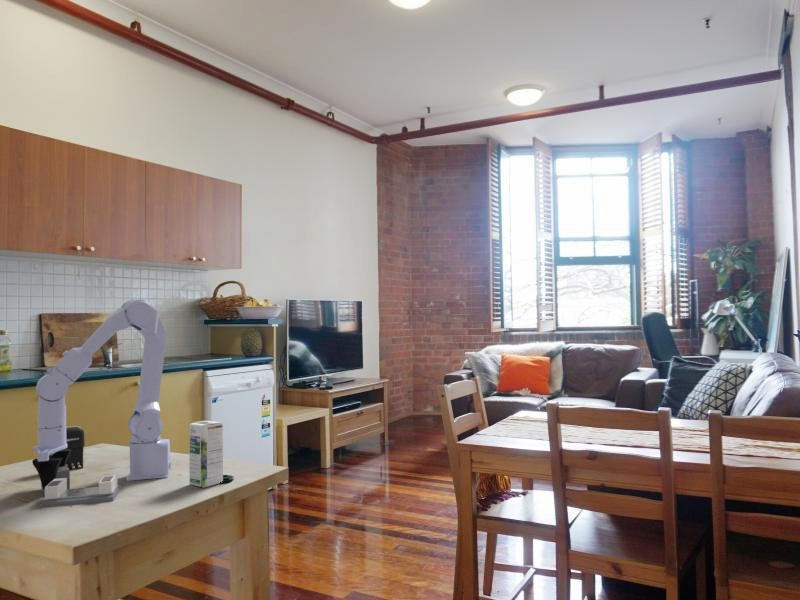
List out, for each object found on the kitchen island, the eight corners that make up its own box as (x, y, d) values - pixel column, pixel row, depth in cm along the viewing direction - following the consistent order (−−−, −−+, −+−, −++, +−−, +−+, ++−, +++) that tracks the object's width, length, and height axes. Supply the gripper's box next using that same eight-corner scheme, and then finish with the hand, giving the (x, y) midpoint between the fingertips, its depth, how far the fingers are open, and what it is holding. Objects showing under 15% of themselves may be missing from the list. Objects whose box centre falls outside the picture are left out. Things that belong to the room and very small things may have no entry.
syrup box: (188, 484, 142) (187, 423, 142) (209, 478, 147) (208, 419, 147) (203, 488, 139) (202, 425, 139) (224, 482, 143) (223, 421, 144)
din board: (120, 489, 139) (120, 483, 139) (113, 501, 130) (113, 494, 130) (53, 495, 135) (53, 489, 135) (40, 508, 127) (40, 501, 127)
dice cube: (44, 496, 135) (44, 473, 135) (41, 491, 139) (41, 469, 139) (69, 491, 138) (69, 469, 138) (65, 487, 142) (65, 465, 142)
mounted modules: (117, 484, 138) (117, 472, 138) (111, 493, 131) (111, 481, 131) (54, 490, 135) (54, 478, 135) (44, 499, 128) (44, 486, 128)
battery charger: (56, 475, 153) (55, 430, 153) (52, 472, 156) (52, 428, 156) (86, 470, 157) (85, 426, 158) (82, 467, 160) (82, 424, 160)
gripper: (42, 422, 145) (42, 478, 144) (21, 433, 131) (22, 496, 130) (74, 420, 147) (75, 476, 146) (58, 431, 133) (58, 493, 132)
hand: (52, 485), depth 138 cm, fingers closed on dice cube, 5 cm apart
